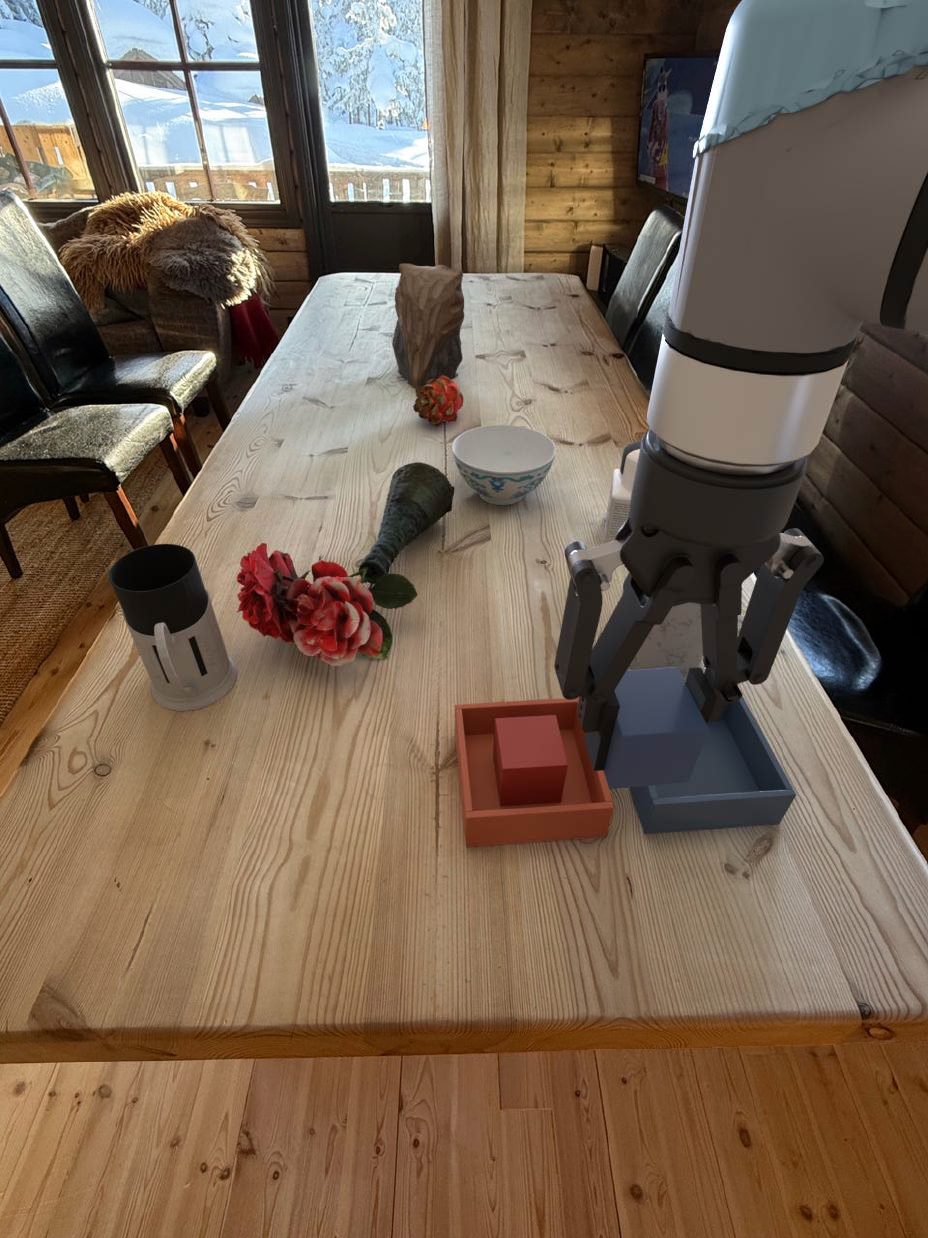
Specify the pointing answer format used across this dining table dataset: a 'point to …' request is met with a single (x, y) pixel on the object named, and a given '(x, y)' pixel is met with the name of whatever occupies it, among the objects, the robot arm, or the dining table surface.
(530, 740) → the red block
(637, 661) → the grey tin can
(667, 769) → the blue block
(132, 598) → the glass holder
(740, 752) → the blue bin
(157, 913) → the dining table surface
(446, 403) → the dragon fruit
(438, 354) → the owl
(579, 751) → the red bin
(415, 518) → the flower vase
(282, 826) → the dining table surface
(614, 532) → the container
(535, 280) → the dining table surface
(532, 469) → the chinaware
